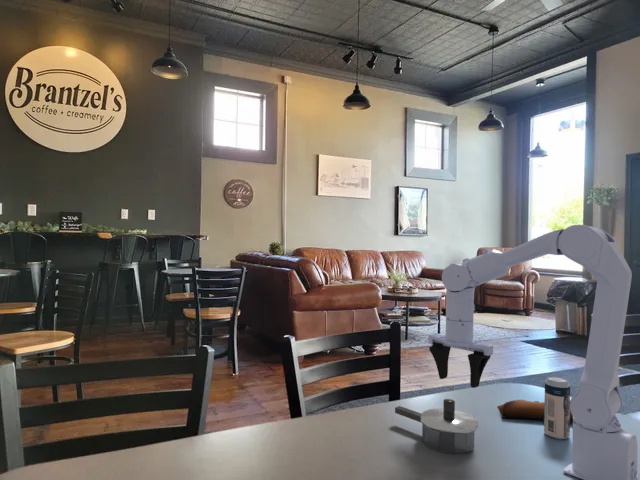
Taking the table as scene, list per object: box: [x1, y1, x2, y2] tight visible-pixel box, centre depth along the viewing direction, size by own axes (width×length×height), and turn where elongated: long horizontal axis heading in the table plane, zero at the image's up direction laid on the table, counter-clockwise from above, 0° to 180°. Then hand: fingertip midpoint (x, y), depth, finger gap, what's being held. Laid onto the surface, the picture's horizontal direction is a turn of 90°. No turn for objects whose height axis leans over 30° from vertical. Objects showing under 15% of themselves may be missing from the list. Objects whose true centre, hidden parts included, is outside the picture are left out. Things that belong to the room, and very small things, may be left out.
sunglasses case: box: [497, 399, 573, 423], centre depth 107 cm, size 18×7×7 cm, turn 80°
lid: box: [420, 398, 479, 434], centre depth 92 cm, size 11×11×4 cm
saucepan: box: [394, 405, 475, 455], centre depth 95 cm, size 18×10×4 cm, turn 42°
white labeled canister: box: [543, 376, 571, 440], centre depth 96 cm, size 5×5×12 cm
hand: (458, 382), depth 98 cm, fingers open, 7 cm apart
